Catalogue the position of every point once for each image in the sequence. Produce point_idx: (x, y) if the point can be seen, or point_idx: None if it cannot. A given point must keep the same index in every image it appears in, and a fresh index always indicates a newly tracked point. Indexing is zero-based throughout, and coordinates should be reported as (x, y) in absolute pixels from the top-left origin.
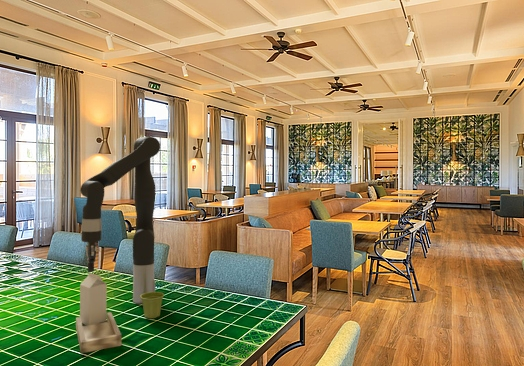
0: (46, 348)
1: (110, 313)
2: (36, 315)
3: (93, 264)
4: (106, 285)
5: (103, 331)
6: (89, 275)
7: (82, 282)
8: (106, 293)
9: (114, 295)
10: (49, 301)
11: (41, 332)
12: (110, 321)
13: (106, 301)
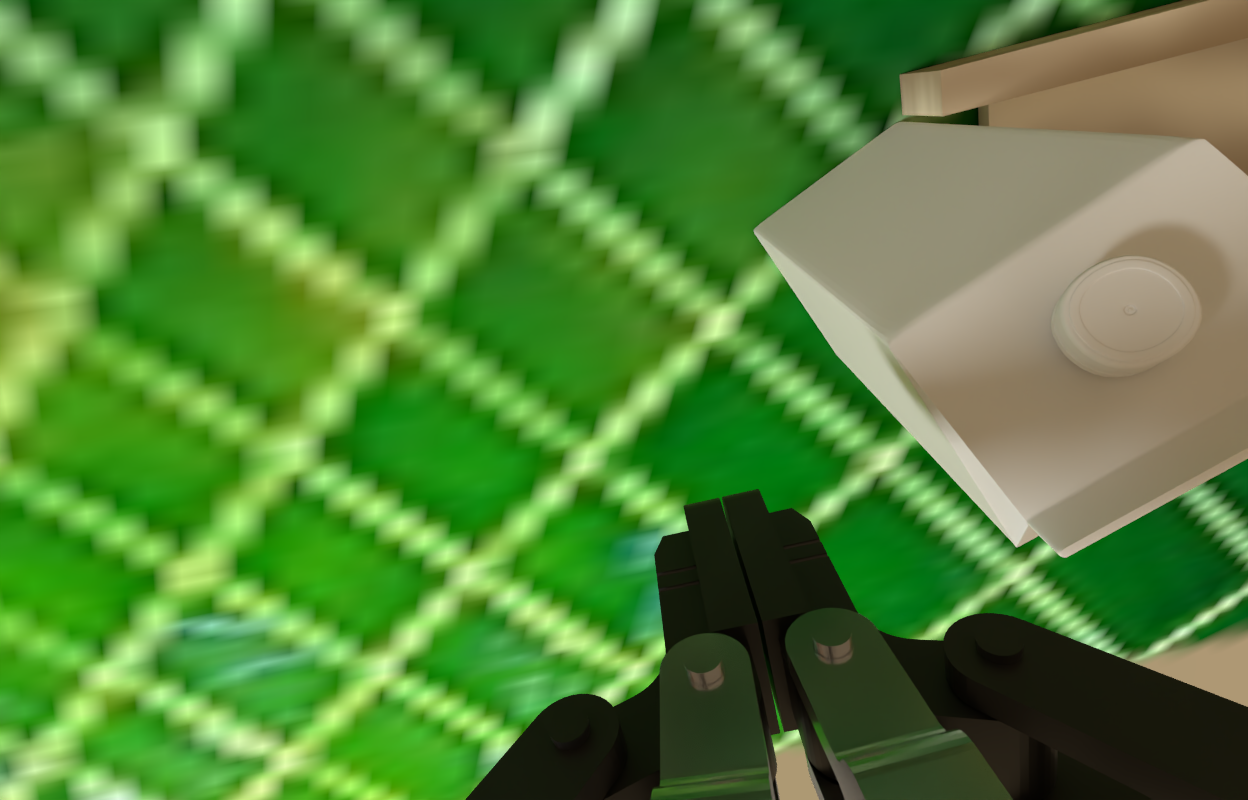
0: (1237, 469)
1: (984, 72)
2: (586, 660)
3: (798, 586)
4: (1177, 137)
5: (1210, 111)
6: (1065, 507)
7: (1033, 536)
8: (1077, 131)
9: (56, 126)
10: (272, 658)
11: (936, 558)
12: (1214, 45)
13: (1007, 127)
